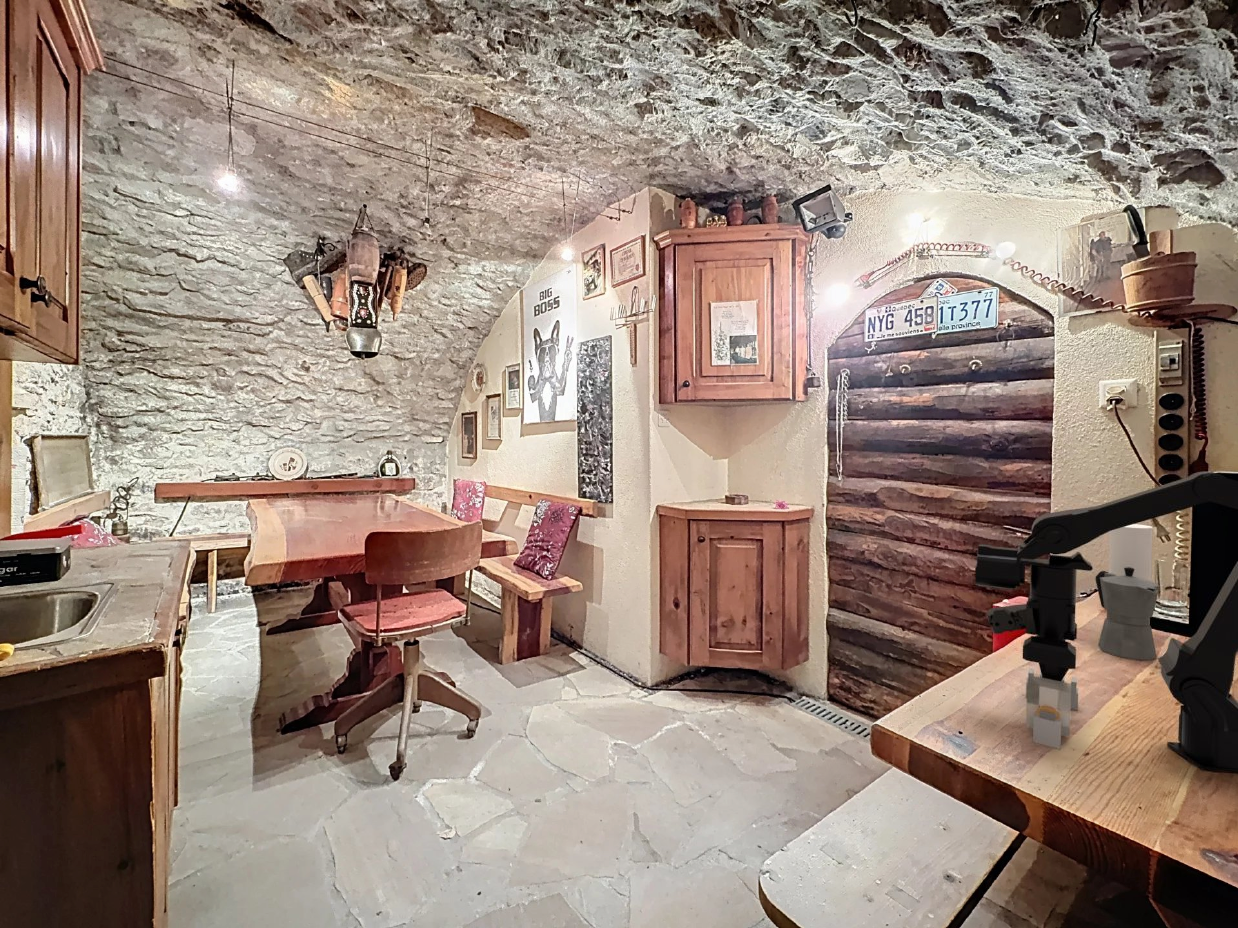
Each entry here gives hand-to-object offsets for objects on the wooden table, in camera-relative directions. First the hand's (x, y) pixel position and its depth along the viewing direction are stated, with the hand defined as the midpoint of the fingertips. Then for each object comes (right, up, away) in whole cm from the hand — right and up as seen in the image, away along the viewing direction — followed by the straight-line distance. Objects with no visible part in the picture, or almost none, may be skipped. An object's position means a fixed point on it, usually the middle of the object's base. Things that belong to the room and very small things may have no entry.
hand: (1049, 691), depth 90 cm
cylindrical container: (+48, -3, +40) cm, 62 cm away
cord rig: (+1, -5, +1) cm, 5 cm away
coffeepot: (+38, -4, +30) cm, 49 cm away
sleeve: (-2, -5, -3) cm, 6 cm away
